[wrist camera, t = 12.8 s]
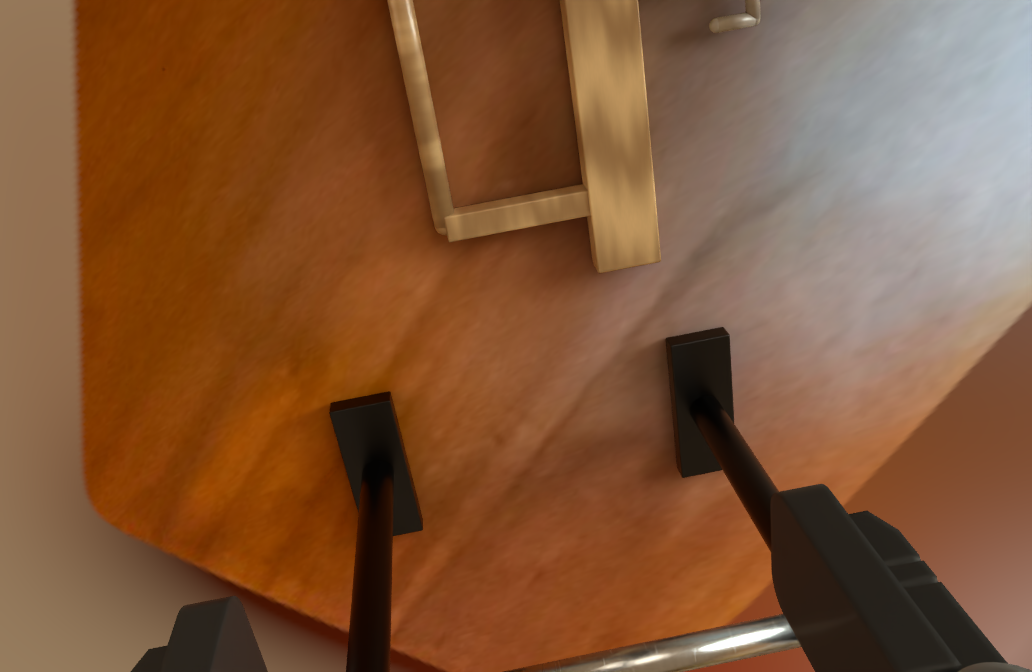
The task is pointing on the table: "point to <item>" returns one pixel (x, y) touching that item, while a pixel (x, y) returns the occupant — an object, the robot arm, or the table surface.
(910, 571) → the robot arm
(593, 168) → the hanger
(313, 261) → the table surface
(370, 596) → the rail stand
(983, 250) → the table surface
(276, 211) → the table surface
